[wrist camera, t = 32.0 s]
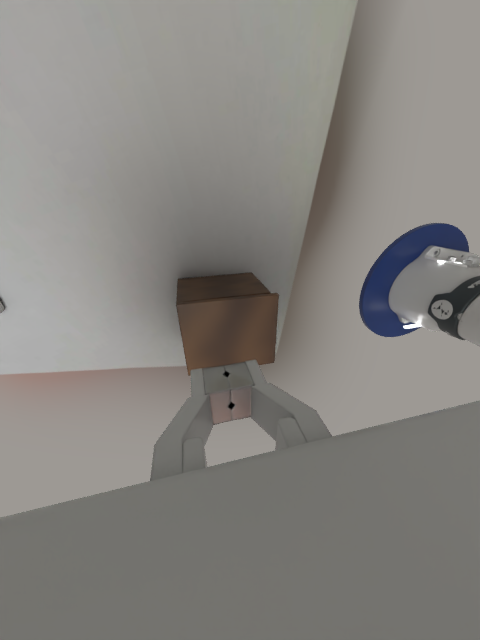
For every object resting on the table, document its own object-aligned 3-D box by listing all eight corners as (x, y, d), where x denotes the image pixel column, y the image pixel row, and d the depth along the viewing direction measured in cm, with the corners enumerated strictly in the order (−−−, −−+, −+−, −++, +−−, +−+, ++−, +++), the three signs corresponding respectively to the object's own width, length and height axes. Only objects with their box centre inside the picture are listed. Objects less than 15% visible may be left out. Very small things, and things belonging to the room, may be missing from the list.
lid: (277, 292, 30) (279, 294, 30) (272, 359, 36) (274, 362, 35) (176, 302, 28) (176, 304, 28) (188, 372, 34) (188, 375, 33)
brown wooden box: (251, 272, 39) (270, 292, 31) (251, 329, 45) (267, 359, 36) (177, 278, 37) (176, 302, 28) (187, 337, 42) (188, 372, 34)
